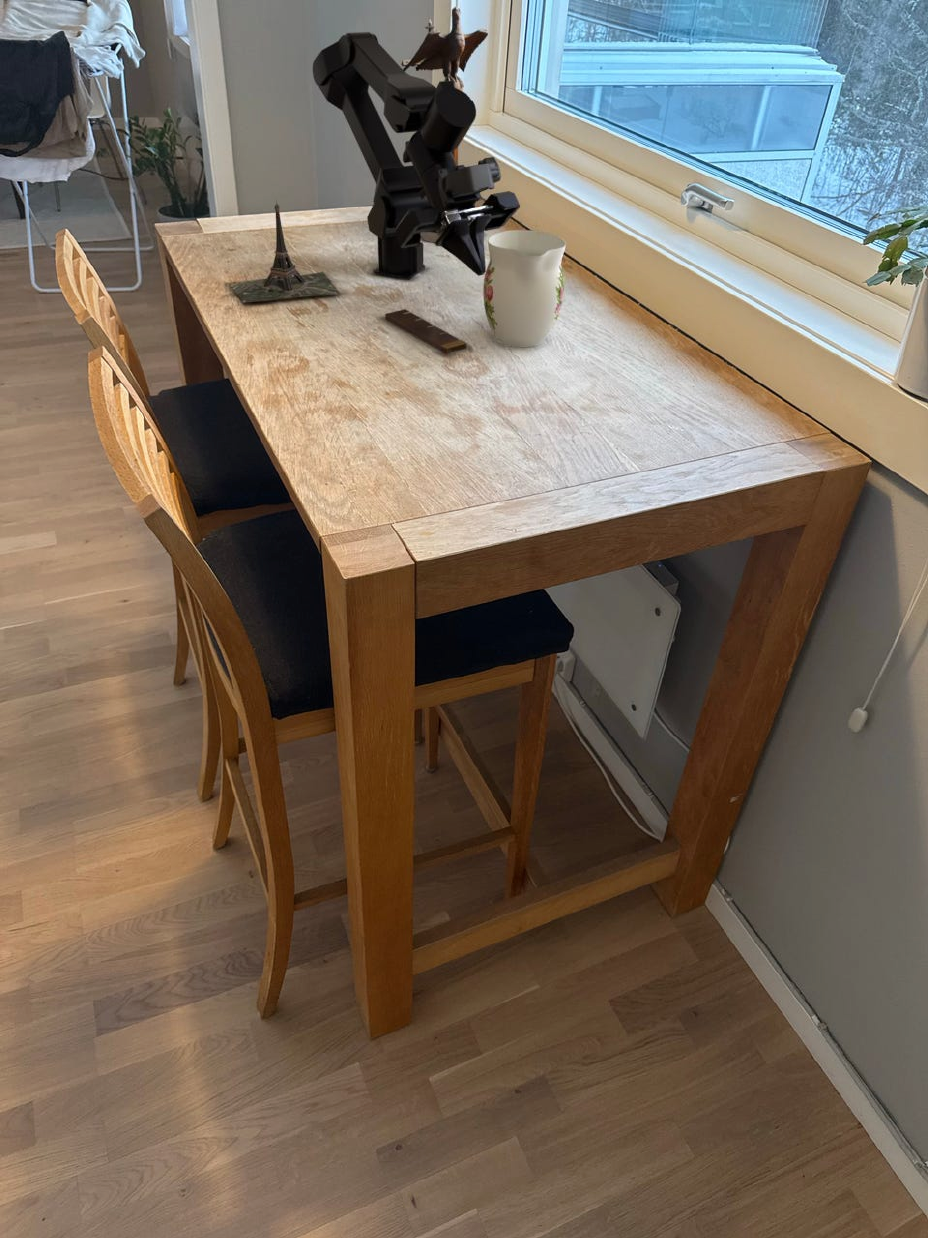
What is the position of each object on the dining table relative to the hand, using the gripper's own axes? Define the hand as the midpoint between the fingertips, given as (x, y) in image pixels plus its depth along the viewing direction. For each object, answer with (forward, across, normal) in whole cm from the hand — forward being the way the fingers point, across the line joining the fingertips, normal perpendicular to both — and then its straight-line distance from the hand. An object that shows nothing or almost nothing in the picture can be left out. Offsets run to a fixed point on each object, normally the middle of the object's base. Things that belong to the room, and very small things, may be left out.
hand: (482, 273), depth 128 cm
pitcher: (+10, +1, -1) cm, 11 cm away
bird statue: (-22, +20, +31) cm, 43 cm away
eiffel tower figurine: (-13, -19, +23) cm, 32 cm away
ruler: (+5, -10, +4) cm, 12 cm away
